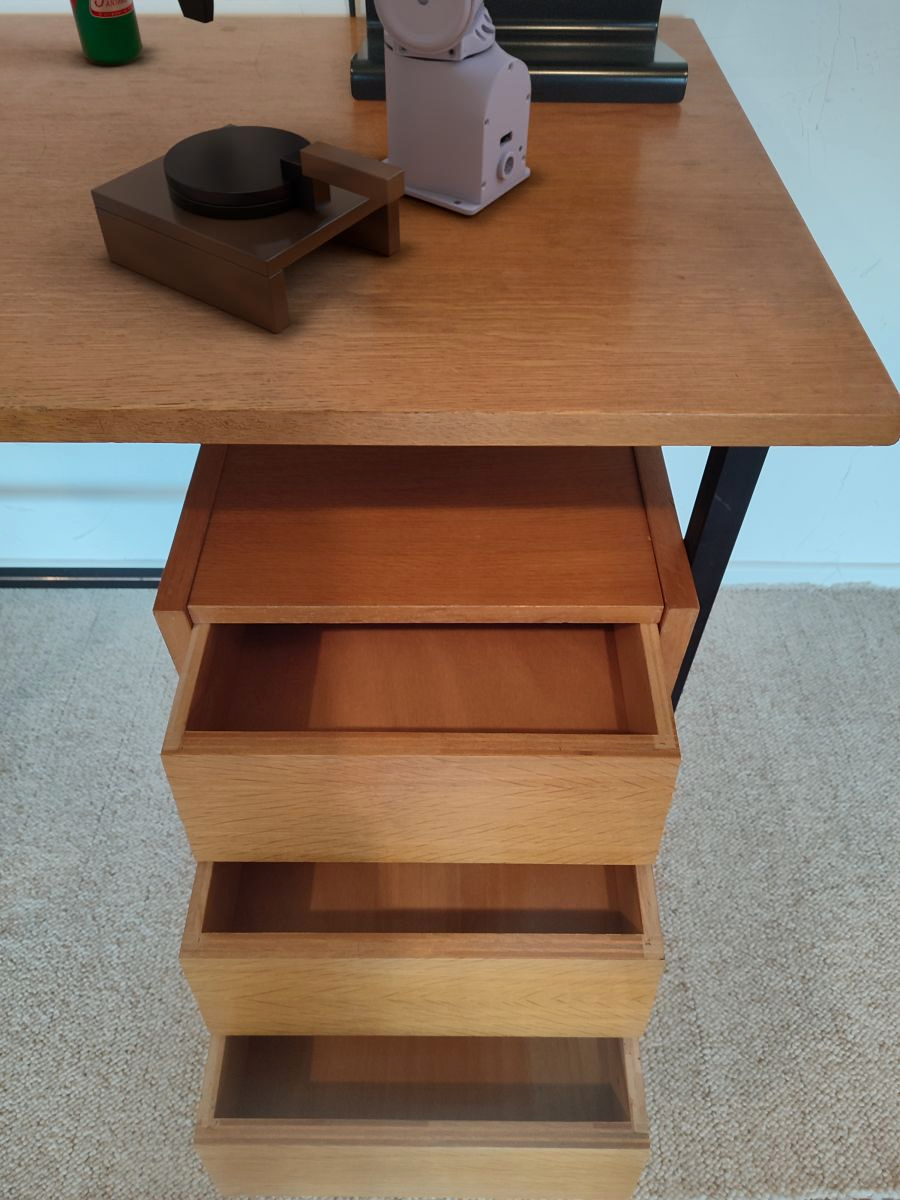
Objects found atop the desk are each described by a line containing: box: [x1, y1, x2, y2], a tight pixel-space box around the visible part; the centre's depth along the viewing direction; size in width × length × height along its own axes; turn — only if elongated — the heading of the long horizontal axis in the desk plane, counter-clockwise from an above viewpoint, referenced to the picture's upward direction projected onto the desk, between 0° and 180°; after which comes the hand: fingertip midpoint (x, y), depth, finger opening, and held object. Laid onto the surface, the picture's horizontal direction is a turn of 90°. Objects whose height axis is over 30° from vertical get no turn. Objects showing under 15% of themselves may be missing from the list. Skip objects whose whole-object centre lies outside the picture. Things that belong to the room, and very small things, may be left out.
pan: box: [163, 125, 406, 220], centre depth 53 cm, size 16×9×4 cm, turn 55°
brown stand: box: [90, 123, 401, 334], centre depth 57 cm, size 14×12×4 cm
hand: (239, 3), depth 61 cm, fingers open, 7 cm apart
